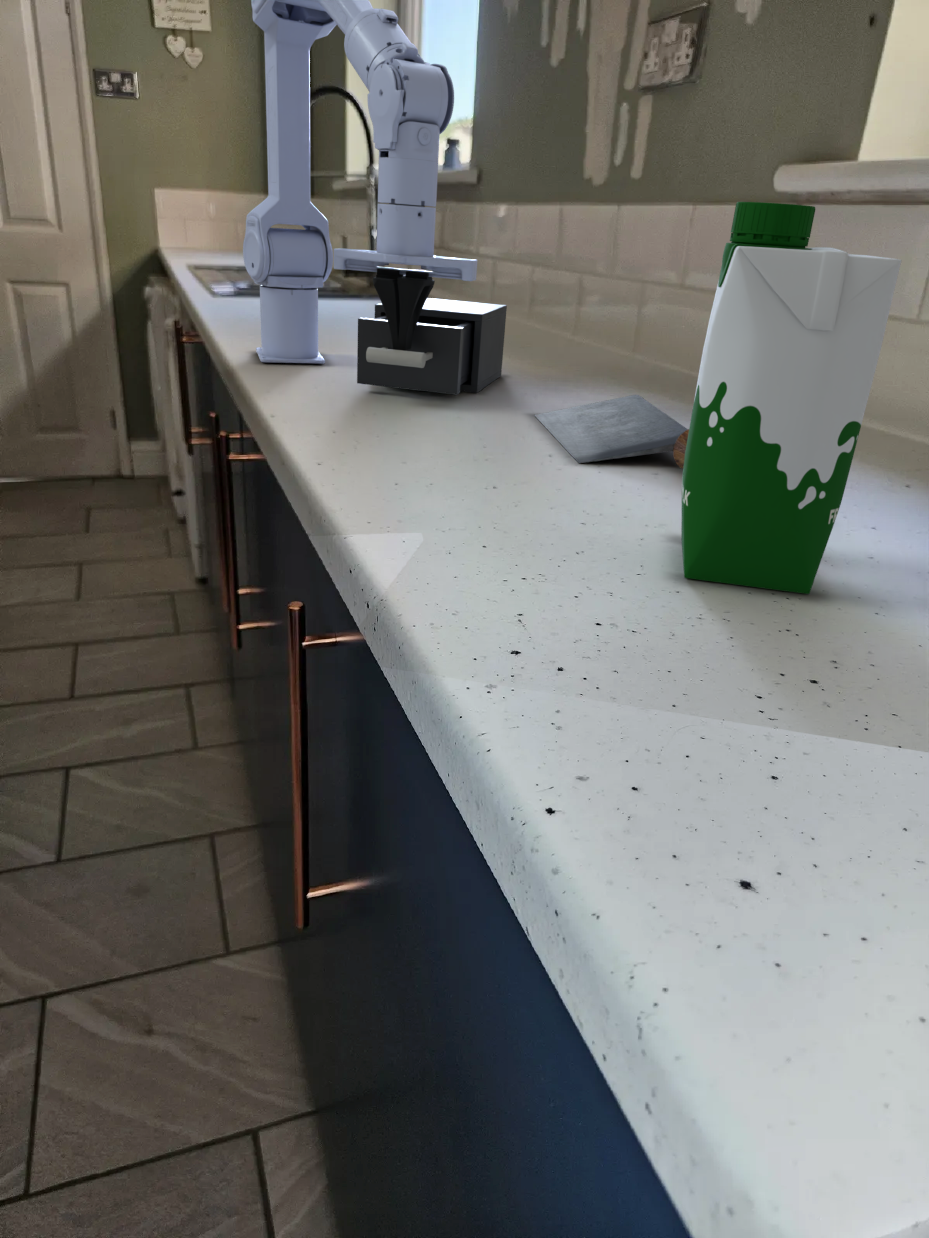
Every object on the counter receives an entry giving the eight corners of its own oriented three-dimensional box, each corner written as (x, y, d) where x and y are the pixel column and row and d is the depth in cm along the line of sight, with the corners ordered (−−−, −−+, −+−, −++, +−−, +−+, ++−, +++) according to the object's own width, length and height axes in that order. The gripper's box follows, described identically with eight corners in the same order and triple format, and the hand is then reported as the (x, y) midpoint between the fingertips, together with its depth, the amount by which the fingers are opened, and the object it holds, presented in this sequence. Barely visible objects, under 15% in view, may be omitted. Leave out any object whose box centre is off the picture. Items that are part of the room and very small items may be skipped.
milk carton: (666, 534, 58) (723, 203, 50) (807, 552, 57) (890, 214, 48) (668, 582, 50) (735, 199, 42) (831, 604, 49) (935, 211, 40)
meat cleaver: (532, 415, 91) (536, 375, 89) (636, 418, 92) (642, 380, 91) (632, 524, 61) (641, 468, 59) (783, 526, 62) (796, 472, 61)
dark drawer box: (445, 402, 89) (449, 333, 86) (340, 390, 91) (341, 322, 88) (483, 377, 104) (487, 318, 102) (392, 367, 107) (394, 309, 104)
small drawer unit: (476, 393, 100) (482, 314, 96) (372, 381, 102) (374, 304, 99) (501, 375, 112) (507, 305, 108) (407, 365, 114) (410, 296, 111)
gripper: (321, 199, 83) (322, 346, 89) (468, 210, 80) (459, 361, 86) (348, 201, 89) (347, 339, 95) (485, 211, 86) (475, 352, 92)
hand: (401, 349), depth 91 cm, fingers closed
